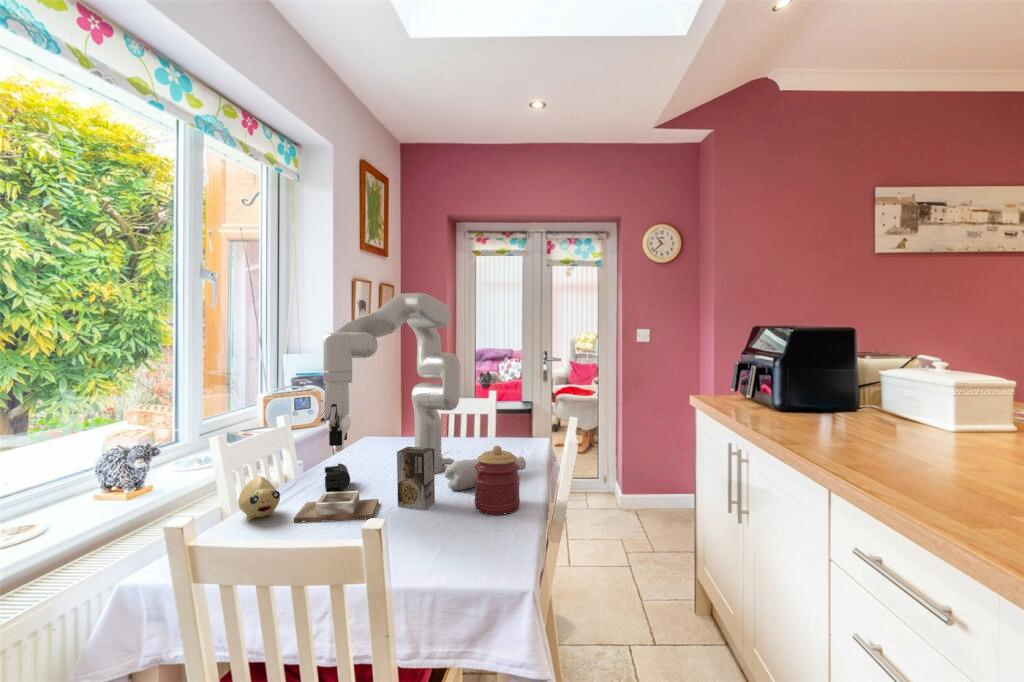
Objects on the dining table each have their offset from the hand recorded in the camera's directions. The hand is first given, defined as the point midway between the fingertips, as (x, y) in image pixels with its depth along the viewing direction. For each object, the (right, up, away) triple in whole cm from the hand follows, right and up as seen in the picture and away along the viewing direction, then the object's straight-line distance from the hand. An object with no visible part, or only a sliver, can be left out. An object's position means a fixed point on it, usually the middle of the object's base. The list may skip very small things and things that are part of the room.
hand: (338, 442), depth 135 cm
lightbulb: (0, -3, 0) cm, 3 cm away
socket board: (0, -20, 0) cm, 20 cm away
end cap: (-8, -19, +21) cm, 30 cm away
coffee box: (+20, -20, +6) cm, 29 cm away
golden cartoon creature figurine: (-20, -20, -3) cm, 28 cm away
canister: (+44, -20, +4) cm, 48 cm away
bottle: (+40, -19, +27) cm, 53 cm away
